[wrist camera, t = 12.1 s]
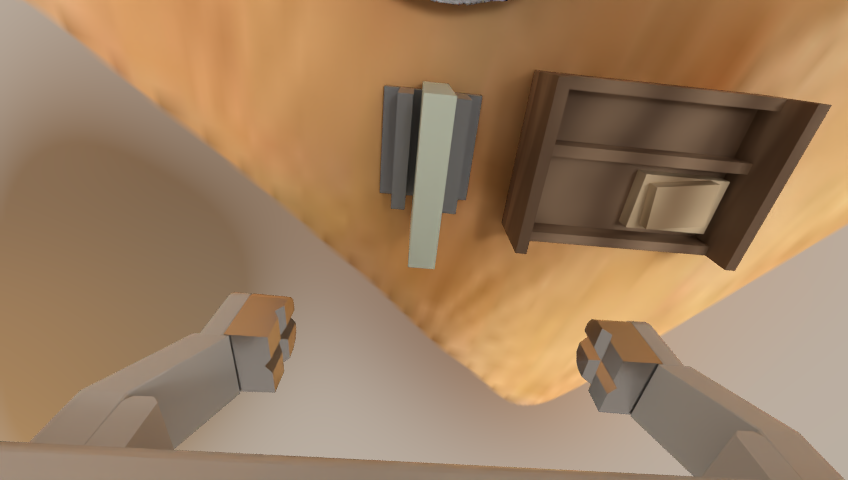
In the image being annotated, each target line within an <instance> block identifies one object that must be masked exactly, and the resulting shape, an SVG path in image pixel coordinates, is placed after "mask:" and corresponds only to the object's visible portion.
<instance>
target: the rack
mask: <svg viewBox="0 0 848 480" xmlns="http://www.w3.org/2000/svg"><path fill="white" fill-rule="evenodd" d="M831 106H832V105H827V104H821V103H814V102H807V101H800V100H794V99H787V98H780V97H773V96H767V95H759V94H750V93H741V92H731V91H722V90H713V89H704V88H694V87H685V86H676V85H667V84H658V83H648V82H639V81H630V80H621V79H611V78H602V77H593V76H584V75H574V74H565V73H556V72H547V71H538V70H535V72H534V76H533V81H532V85H531V90H530V95H529V99H528V104H527V108H526V113H525V118H524V122H523V127H522V132H521V136H520V141H519V145H518V150H517V155H516V159H515V164H514V168H513V173H512V178H511V182H510V187H509V191H508V196H507V201H506V205H505V210H504V214H503V219H502V225H503V227H504V229H505V231H506V233H507V235H508V238H509V240H510V242H511V244H512V246H513V249H514V251H515V253H521V254H526V253H527V249H528V245H529V241H539V242H551V243H563V244H575V245H587V246H599V247H611V248H623V249H635V250H647V251H659V252H672V253H684V254H696V255H705V256H707V257H708V258H709V259H711V260H712V261H713V262H715V263H716V264H718V265H719V266H720V267H722V268H723V269H724V270H732V271H735V270H736V268H737V266H738V265H739V263H740V261H741V259H742V258H743V256H744V254H745V253H746V251H747V249H748V247H749V246H750V244H751V242H752V241H753V239H754V237H755V235H756V234H757V232H758V230H759V229H760V227H761V225H762V224H763V222H764V220H765V218H766V217H767V215H768V213H769V212H770V210H771V208H772V206H773V205H774V203H775V201H776V200H777V198H778V196H779V194H780V193H781V191H782V189H783V188H784V186H785V184H786V182H787V181H788V179H789V177H790V176H791V174H792V172H793V171H794V169H795V167H796V165H797V164H798V162H799V160H800V159H801V157H802V155H803V153H804V152H805V150H806V148H807V147H808V145H809V143H810V141H811V140H812V138H813V136H814V135H815V133H816V131H817V129H818V128H819V126H820V124H821V123H822V121H823V119H824V118H825V116H826V114H827V112H828V111H829V109H830V107H831ZM638 169H641V170H651V171H662V172H672V173H683V174H693V175H704V176H714V177H720V178H722V179H725V180H727V181H729V182H730V183H729V185H728V187H727V189H726V191H725V193H724V195H723V197H722V199H721V201H720V203H719V205H718V207H717V209H716V211H715V213H714V215H713V217H712V219H711V221H710V223H709V224H708V226H707V228H706V230H705V232H704V234H698V233H686V232H675V231H663V230H651V229H640V228H628V227H625V226H624V225H623V224H622V223H620V222H619V219H620V216H621V213H622V211H623V208H624V205H625V203H626V200H627V198H628V195H629V192H630V190H631V187H632V184H633V182H634V179H635V177H636V174H637V171H638Z"/></svg>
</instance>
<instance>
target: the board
mask: <svg viewBox="0 0 848 480" xmlns="http://www.w3.org/2000/svg"><path fill="white" fill-rule="evenodd" d="M456 102H457V95H456V94H455V92H454V91H453V90H452V88H451V87H450V85H449V84H446V83H436V82H427V81H423V86H422V97H421V108H420V120H419V131H418V142H417V154H416V165H415V176H414V188H413V199H412V210H411V222H410V239H409V258H408V267H413V268H426V269H435V262H436V255H437V247H438V239H439V232H440V224H441V216H442V209H443V201H444V193H445V186H446V178H447V170H448V163H449V155H450V148H451V140H452V132H453V125H454V117H455V109H456Z"/></svg>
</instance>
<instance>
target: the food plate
mask: <svg viewBox="0 0 848 480" xmlns="http://www.w3.org/2000/svg"><path fill="white" fill-rule="evenodd" d="M432 1H434V2H435V1H438V2H441V3H442V2H443V3H449V4H450V3H451V4H453V5H454V4H458V5H460V4H462V3H463V4H466V5H470V4H477V3H483V2H484V3H485V2H490V1H507V0H432Z"/></svg>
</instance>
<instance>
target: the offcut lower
mask: <svg viewBox="0 0 848 480" xmlns="http://www.w3.org/2000/svg"><path fill="white" fill-rule="evenodd" d="M703 180H711V181H713V182H715V183H717V184H720V186H719V189H718V192H717V194H716V197H715V200H714V203H713V206H712V209H711V211H710V214H709V217H708V220H707V223H706V226H705V227H690V228H666V229H651V230H663V231H675V232H686V233H698V234H704V232H705V230H706V228H707V226H708V224H709V223H710V221H711V219H712V217H713V215H714V213H715V211H716V209H717V207H718V205H719V203H720V201H721V199H722V197H723V195H724V193H725V191H726V189H727V187H728V185H729V183H730V182H729V181H727V180H725V179H722V178H720V177H714V176H704V175H693V174H683V173H672V172H662V171H651V170H641V169H638V171H637V174H636V177H635V179H634V182H633V184H632V187H631V190H630V192H629V195H628V198H627V200H626V203H625V205H624V208H623V211H622V213H621V216H620V219H619V222H620V223H622V224H623V225H624V226H625V227H628V228H640V229H645V228H644V227H643V226H641V225H640V224H639V223H640V219H641V215H642V211H643V207H644V203H645V199H646V196H647V192H648V188H649V184H650V183H657V182H680V181H703Z"/></svg>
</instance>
